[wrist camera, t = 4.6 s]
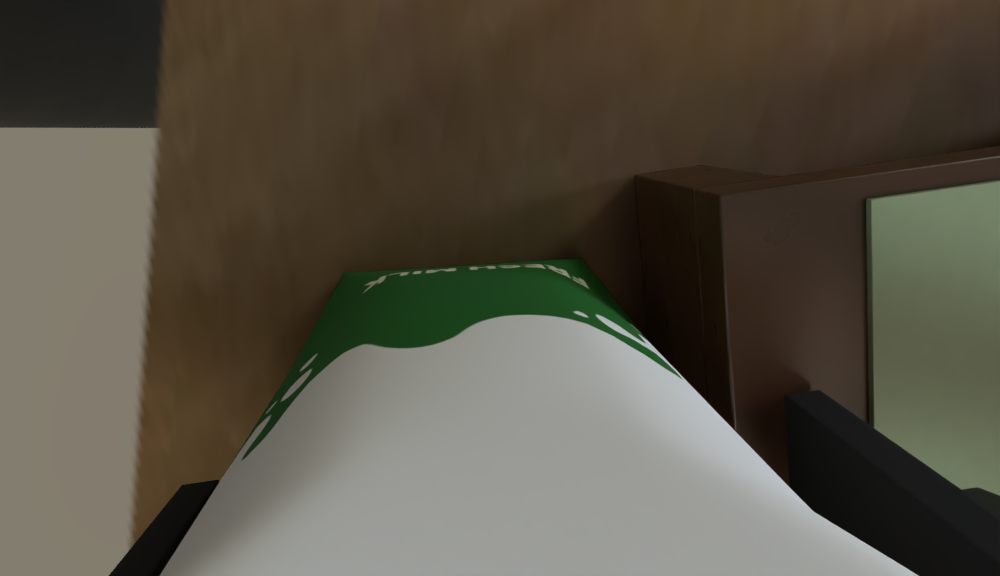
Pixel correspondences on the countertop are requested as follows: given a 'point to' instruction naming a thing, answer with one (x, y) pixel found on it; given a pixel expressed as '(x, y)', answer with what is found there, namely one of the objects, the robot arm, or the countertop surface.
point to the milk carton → (500, 448)
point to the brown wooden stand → (836, 299)
